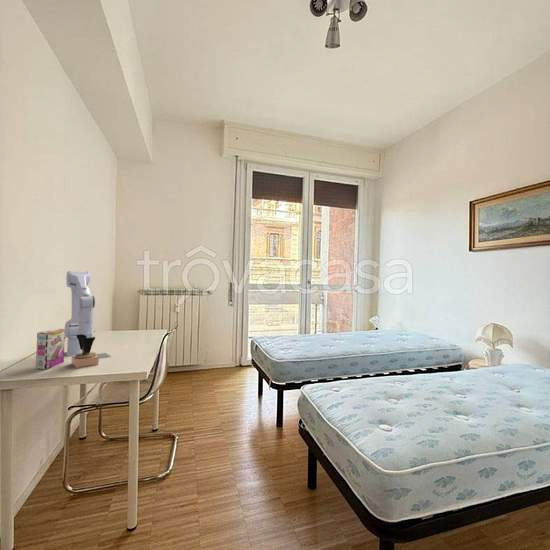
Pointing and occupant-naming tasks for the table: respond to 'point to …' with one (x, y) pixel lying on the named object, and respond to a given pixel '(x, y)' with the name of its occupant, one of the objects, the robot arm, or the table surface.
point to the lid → (85, 355)
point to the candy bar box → (50, 348)
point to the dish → (84, 362)
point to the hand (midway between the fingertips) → (85, 350)
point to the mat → (103, 355)
